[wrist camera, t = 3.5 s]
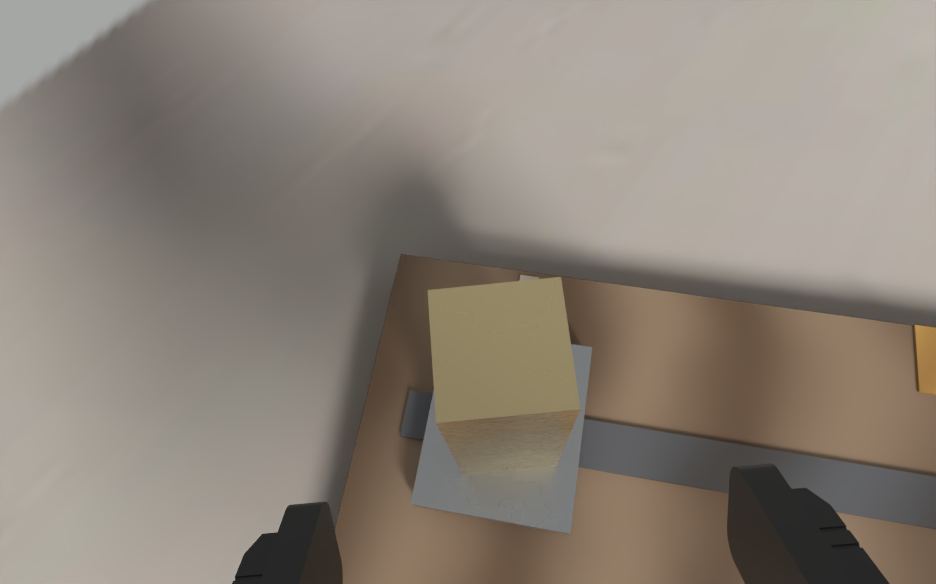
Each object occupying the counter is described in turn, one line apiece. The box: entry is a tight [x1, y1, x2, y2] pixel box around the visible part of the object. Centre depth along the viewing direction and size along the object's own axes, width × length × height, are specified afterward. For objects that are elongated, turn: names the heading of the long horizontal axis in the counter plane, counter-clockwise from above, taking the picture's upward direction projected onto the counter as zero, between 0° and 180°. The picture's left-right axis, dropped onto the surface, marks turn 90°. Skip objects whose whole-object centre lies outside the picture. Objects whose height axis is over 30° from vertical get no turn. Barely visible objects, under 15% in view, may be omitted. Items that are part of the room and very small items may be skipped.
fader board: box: [335, 254, 936, 584], centre depth 23 cm, size 24×12×2 cm, turn 80°
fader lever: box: [411, 277, 592, 535], centre depth 19 cm, size 5×6×9 cm
